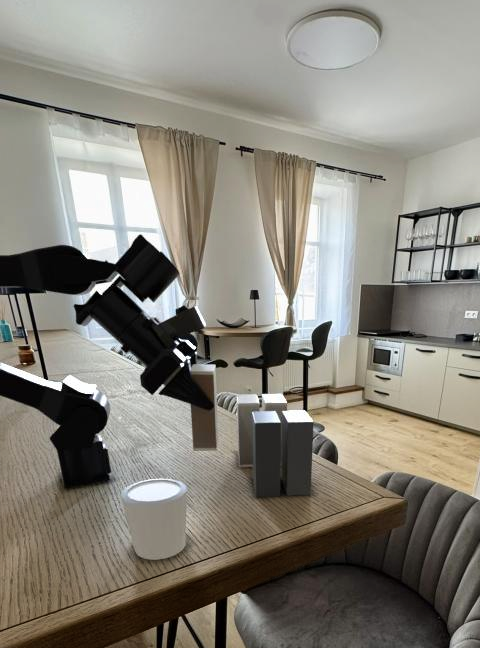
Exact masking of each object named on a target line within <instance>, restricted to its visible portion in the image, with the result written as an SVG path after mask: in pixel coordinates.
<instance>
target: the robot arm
mask: <svg viewBox="0 0 480 648" xmlns="http://www.w3.org/2000/svg"><path fill="white" fill-rule="evenodd" d="M180 274H181V272H180V271H179V269H177V267H176V266H175V264H174V263H173V262H172V261H171V260H170V259H169V258H168V257H167V256H166V254H165V253H164V252H163V251H162V250H159V249H158V248H157V247H155V245H153V244H152V243H151V242H150V241H148V240H147V238H145V237H144V235H142V234H141V233H140V234H138V235H137V236H136V237H135V238H134V240H133V241H132V243H131V245H130V247H129V248H128V249H127V250H126V251H125V252H124V253H123V254H122V256H120V258H118V260H117V261H116V262H115V263H114V262H109V261H108V260H107V259H105V261H103V260H98V259H93V258H89V257H88V256H87V255H86V254H84V253H83V252H82V251H81V250H80V249H78V248H77V247H75V246H72V245H69V244H58V245H57V244H56V245H52V246H51V245H50V246H46V247H45V246H44V247H40V248H34V249H30V250H27V251H23V252H20V253H15V254H0V288H4V289H7V288H8V289H9V288H10V289H11V288H23V289H31V290H37V291H42V292H43V291H44V292H49V293H56V294H63V295H69V296H84V295H87V294H90V293H91V292H92V291H93V290H94V288H95V287H96V285H102V284H107V283H110V285H109V287H107V288H106V289H105V290H104V291H103V292H101V291H100V290H98V289H96V290H95V291H94V292H93V294H91V296H90V297H89V298H88V299H87V300H86V301H85V303H83V304H79V303H78V304H77V303H74V304H73V308H74V309H73V310H74V311H75V323H76V325H79V326H82V327H87V326H88V325H89V324H90V323H91V322H92V320H94V321H95V322H96V323H97V324H98V325H99V326H100V327H101V328H102V329H104V331H106V332H107V333H108V334H109V335H110V336H111V337H112V338H114V339H115V340H116V341H117V343H119V344H120V345H121V346H120V350H122V352H123V353H125V354H126V355H127V354H129V353H130V354H131V355H132V356H134V358H136V359H137V360H138V361H139V362H140V363H141V364H142V365H143V366H145V368H144V369H143V371H142V373H140V375H139V379H140V386H141V387H142V388H143V389H144V390H146V392H148V394H150V395H151V396H154V394H155V393H156V392H157V391H159V392H158V394H157V395H159V396H165V397H168V398H171V399H173V400H176V401H180V402H183V403H186V404H189V405H190V406H191V405H194V406H197V407H200V408H203V409H205V410H208V411H210V410H211V409H212V408H213V407H214V404H213V403H212V401H211V400H210V399H209V397H208V396H207V395H206V394H205V392H204V391H203V390H202V388H201V387H200V386H199V385H198V383H197V382H196V381H195V380H194V378H193V377H192V375H191V367H192V365H193V364H198V352H197V351H195V349H196V346H195V345H193V343H191V342H190V341H189V339H183V338H184V337H186V336H188V335H190V334H192V333H198V332H200V331H202V330H204V329H206V328H207V324H206V322H205V320H204V318H203V315H202V314H201V312H200V310H199V308H198V306H197V305H195V306H192V307H188V305H186V304H183V305H182V306H180V307H177V308H175V311H174V312H175V315H174V316H171V317H169V318H168V319H165V320H164V321H161V320H160V319H159V318H158V317H157V316H155V317H154V316H151V315H149V314H148V313H147V312H146V311H145V310H144V309H143V308H142V307H141V306H139V305H138V303H136V301H135V300H133V298H131V296H129V294H127V293H126V292H125V291H124V290H123V289H122V287H123V286H125V288H126V289H127V290H128V291H130V292H131V293H132V294H133V295H134V296H135V297H136V298H137V299H138V300H139V301H140V302H141V303H144V302H145V301H146V300H147V299H149V300H150V301H151V302H152V303H155V302H156V301H157V300H158V299H159V297H160V296H162V295H163V293H164V292H166V290H167V289H168V288H169V287H170V286H171V284H173V282H174V281H176V279H177V278H178V277H179V275H180ZM118 275H119V276H118ZM117 276H118V277H117ZM116 277H117V278H116ZM114 279H115V280H114ZM113 280H114V281H113ZM111 282H112V283H111ZM194 351H195V352H194ZM193 352H194V353H193ZM192 353H193V354H192ZM191 354H192V355H191ZM190 355H191V356H190ZM162 386H163V387H162ZM161 387H162V388H161ZM97 388H98V386H97V384H88V383H85V382H83V381H81V380H79V379H77V378H76V377H74V376H72V375H68V376H66V377H65V379H63V380H62V381H61V382H55V381H50V380H46V379H44V378H42V377H39V376H36V375H34V374H31V373H29V372H27V371H24V370H21V369H18V368H16V367H14V366H11V365H8V364H6V363H3V362H1V361H0V397H4V398H6V399H8V400H10V401H13V402H16V403H19V404H21V405H24V406H28V407H31V408H33V409H35V410H37V411H38V412H40V413H41V414H43V415H44V416H45V417H46V418H48V419H49V420H51V421H52V422H53V423H55V424H56V427H55V428H54V430H53V432H52V433H51V434H50V437H49V440H50V442H51V443H52V445H53V447H54V448H55V450H56V453H57V458H58V463H59V469H60V472H59V474H60V478H61V481H62V482H61V483H62V486H63V489H71V488H79V487H84V486H89V485H93V484H95V485H96V484H101V483H106V482H110V481H111V477H110V474H111V473H112V469H111V461H110V455H109V449H108V447H107V446H106V444H104V442H103V438H102V437H101V435H98V434H100V433H101V432H103V430H104V429H105V428H106V426H107V424H108V421H109V418H110V413H111V405H110V402H109V399H108V398H107V396H106V395H105V394H104V393H102V392H101V391H99V390H97ZM160 388H161V389H160ZM159 389H160V390H159Z"/></svg>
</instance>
